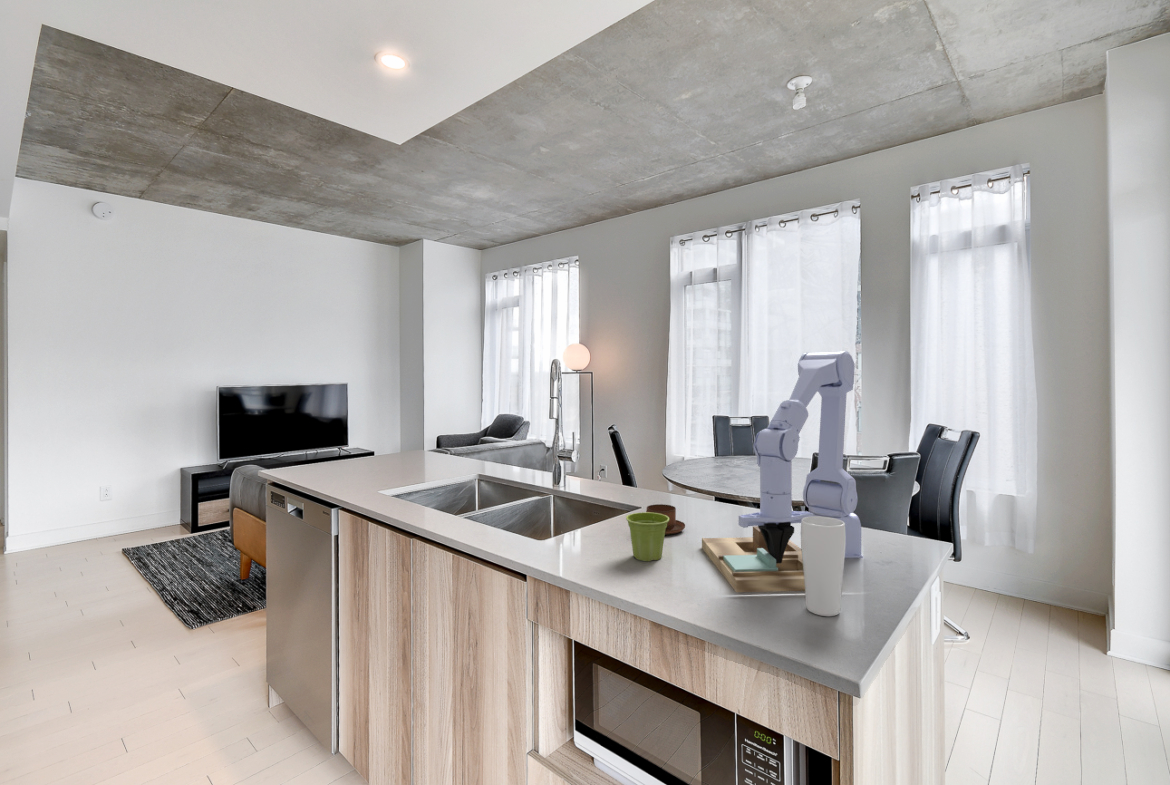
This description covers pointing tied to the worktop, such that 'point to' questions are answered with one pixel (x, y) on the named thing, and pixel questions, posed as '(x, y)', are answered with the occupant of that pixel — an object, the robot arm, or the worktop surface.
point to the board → (757, 581)
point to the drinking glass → (823, 563)
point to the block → (758, 539)
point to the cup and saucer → (669, 511)
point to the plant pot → (647, 534)
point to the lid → (751, 562)
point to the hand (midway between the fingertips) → (775, 561)
